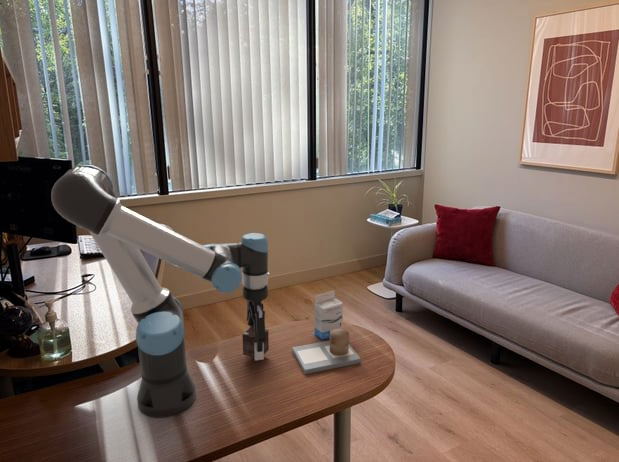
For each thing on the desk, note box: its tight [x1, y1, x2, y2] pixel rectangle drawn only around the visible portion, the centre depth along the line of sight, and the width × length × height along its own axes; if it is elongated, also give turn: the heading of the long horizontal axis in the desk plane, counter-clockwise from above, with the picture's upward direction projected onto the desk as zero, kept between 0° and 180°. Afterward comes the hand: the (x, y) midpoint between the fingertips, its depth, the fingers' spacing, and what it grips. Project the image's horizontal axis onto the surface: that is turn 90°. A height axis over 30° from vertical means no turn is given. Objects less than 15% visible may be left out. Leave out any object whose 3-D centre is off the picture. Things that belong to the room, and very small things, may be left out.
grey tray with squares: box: [291, 339, 362, 375], centre depth 145 cm, size 18×13×2 cm
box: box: [241, 326, 270, 359], centre depth 143 cm, size 6×6×7 cm
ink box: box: [314, 289, 344, 341], centre depth 156 cm, size 8×5×15 cm, turn 123°
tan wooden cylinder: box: [329, 328, 350, 356], centre depth 145 cm, size 6×6×6 cm
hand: (255, 351), depth 144 cm, fingers closed on box, 8 cm apart
